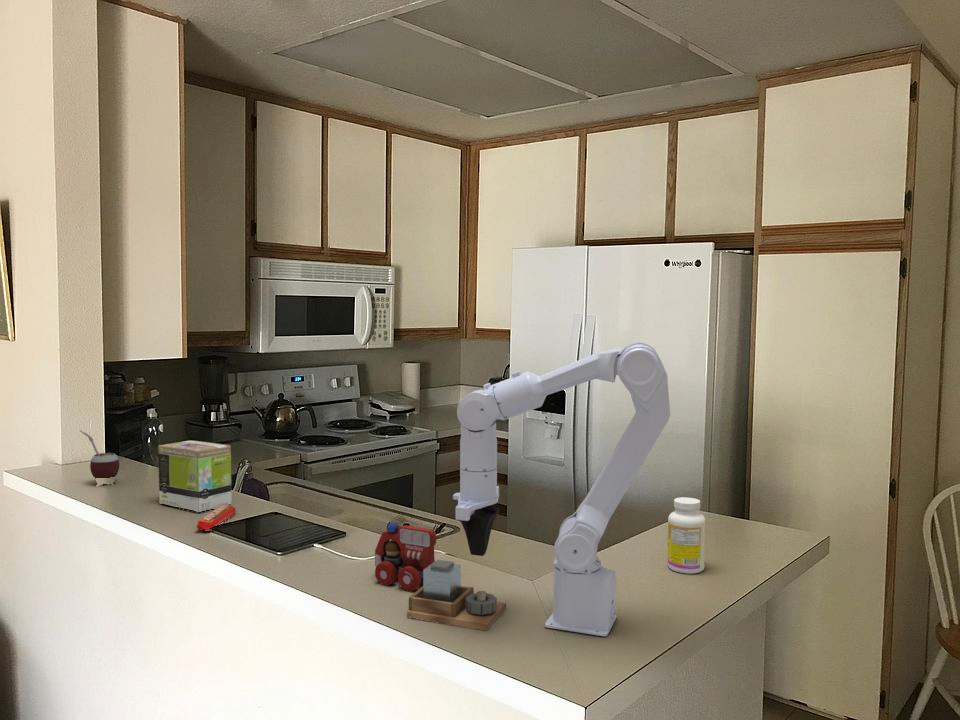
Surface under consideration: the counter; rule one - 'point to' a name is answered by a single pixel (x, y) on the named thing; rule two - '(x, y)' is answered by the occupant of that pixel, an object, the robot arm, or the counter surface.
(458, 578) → the grey block
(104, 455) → the mate gourd
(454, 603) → the board
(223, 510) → the candy bar
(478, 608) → the wheel
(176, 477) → the tea box
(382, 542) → the toy fire truck
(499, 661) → the counter surface
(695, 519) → the supplement bottle
